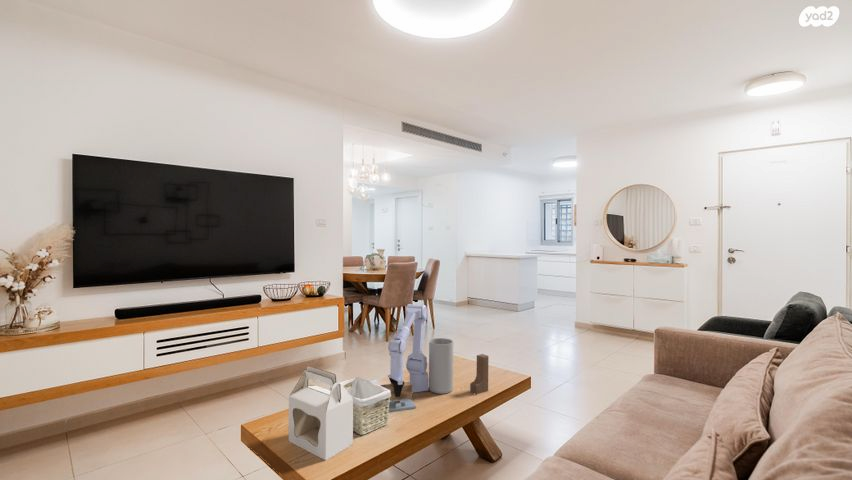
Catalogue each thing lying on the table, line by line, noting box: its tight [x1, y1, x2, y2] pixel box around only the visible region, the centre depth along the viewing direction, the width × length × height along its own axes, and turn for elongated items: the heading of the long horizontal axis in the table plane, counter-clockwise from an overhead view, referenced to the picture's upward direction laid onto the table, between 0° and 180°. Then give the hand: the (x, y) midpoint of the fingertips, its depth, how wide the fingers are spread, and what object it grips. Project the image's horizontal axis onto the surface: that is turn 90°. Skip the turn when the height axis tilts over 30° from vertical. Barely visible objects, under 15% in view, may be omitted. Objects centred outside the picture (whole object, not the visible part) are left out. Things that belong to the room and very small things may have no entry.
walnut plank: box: [380, 381, 413, 401], centre depth 180 cm, size 14×4×6 cm, turn 108°
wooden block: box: [469, 353, 489, 395], centre depth 199 cm, size 9×4×18 cm, turn 128°
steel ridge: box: [391, 399, 401, 408], centre depth 180 cm, size 2×7×2 cm, turn 19°
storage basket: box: [329, 376, 391, 436], centre depth 166 cm, size 24×16×15 cm
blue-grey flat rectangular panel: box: [389, 398, 417, 413], centre depth 180 cm, size 16×9×1 cm, turn 109°
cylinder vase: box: [428, 337, 454, 395], centre depth 201 cm, size 12×12×25 cm
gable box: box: [288, 365, 354, 461], centre depth 148 cm, size 22×13×28 cm, turn 54°
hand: (396, 394), depth 180 cm, fingers closed on walnut plank, 4 cm apart
